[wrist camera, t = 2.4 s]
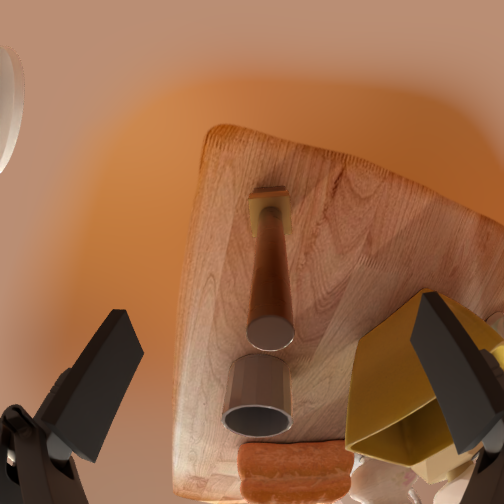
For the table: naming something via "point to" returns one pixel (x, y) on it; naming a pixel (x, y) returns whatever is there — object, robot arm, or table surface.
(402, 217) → the table surface
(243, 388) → the gray pen holder
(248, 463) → the bread
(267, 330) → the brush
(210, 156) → the table surface
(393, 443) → the flower pot
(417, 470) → the cream faceted piece
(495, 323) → the coffee cup
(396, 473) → the ceramic pitcher
